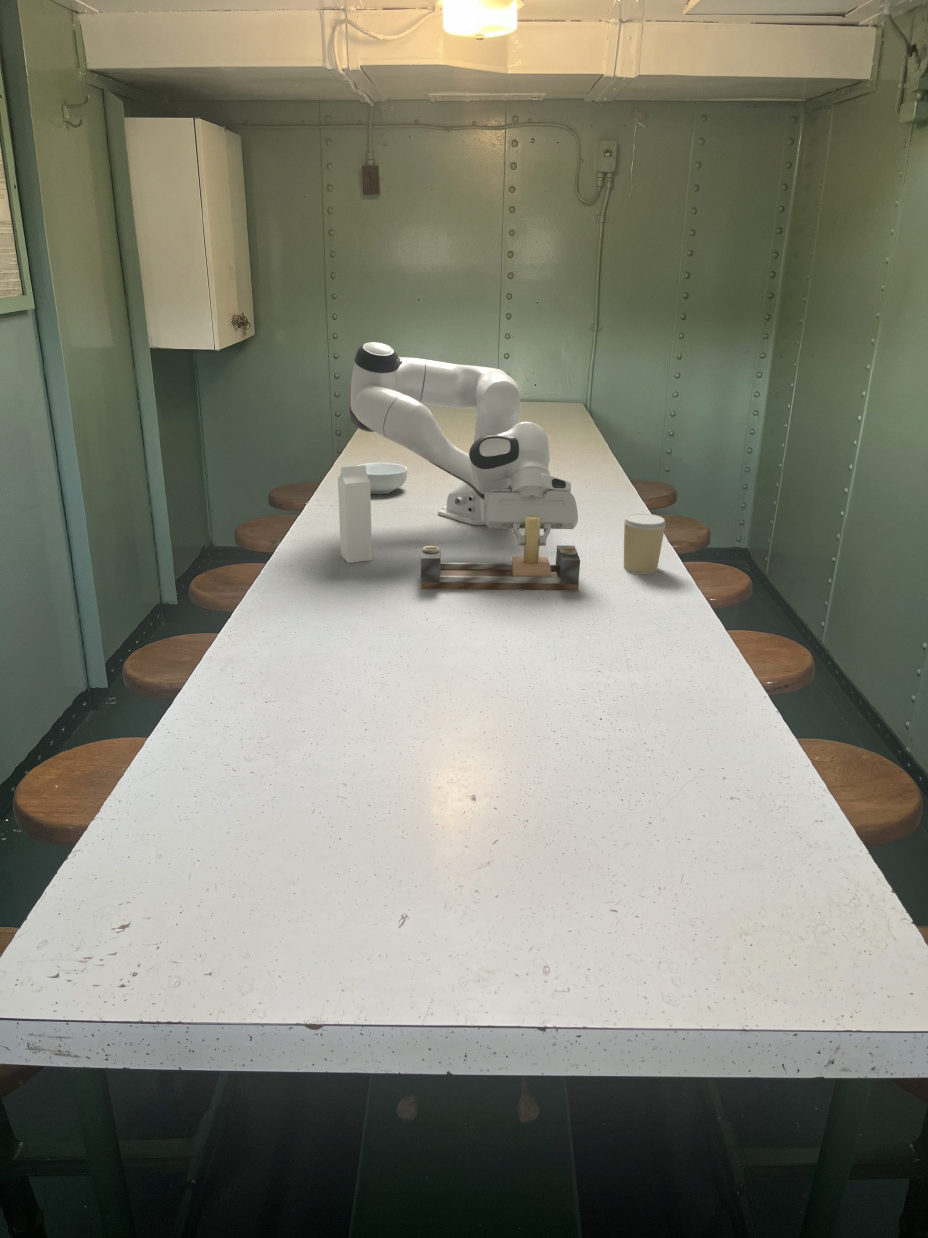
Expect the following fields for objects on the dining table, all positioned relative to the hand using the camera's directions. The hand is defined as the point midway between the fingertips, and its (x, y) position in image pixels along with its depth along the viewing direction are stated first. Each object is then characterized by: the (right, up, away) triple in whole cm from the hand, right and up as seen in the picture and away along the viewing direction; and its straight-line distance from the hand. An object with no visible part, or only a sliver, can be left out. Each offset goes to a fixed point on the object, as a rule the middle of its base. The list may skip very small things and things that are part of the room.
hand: (532, 544), depth 191 cm
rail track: (-7, -8, +4) cm, 11 cm away
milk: (-40, -2, +18) cm, 44 cm away
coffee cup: (+26, -5, +14) cm, 30 cm away
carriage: (0, -6, +3) cm, 7 cm away
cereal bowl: (-40, +22, +76) cm, 89 cm away
